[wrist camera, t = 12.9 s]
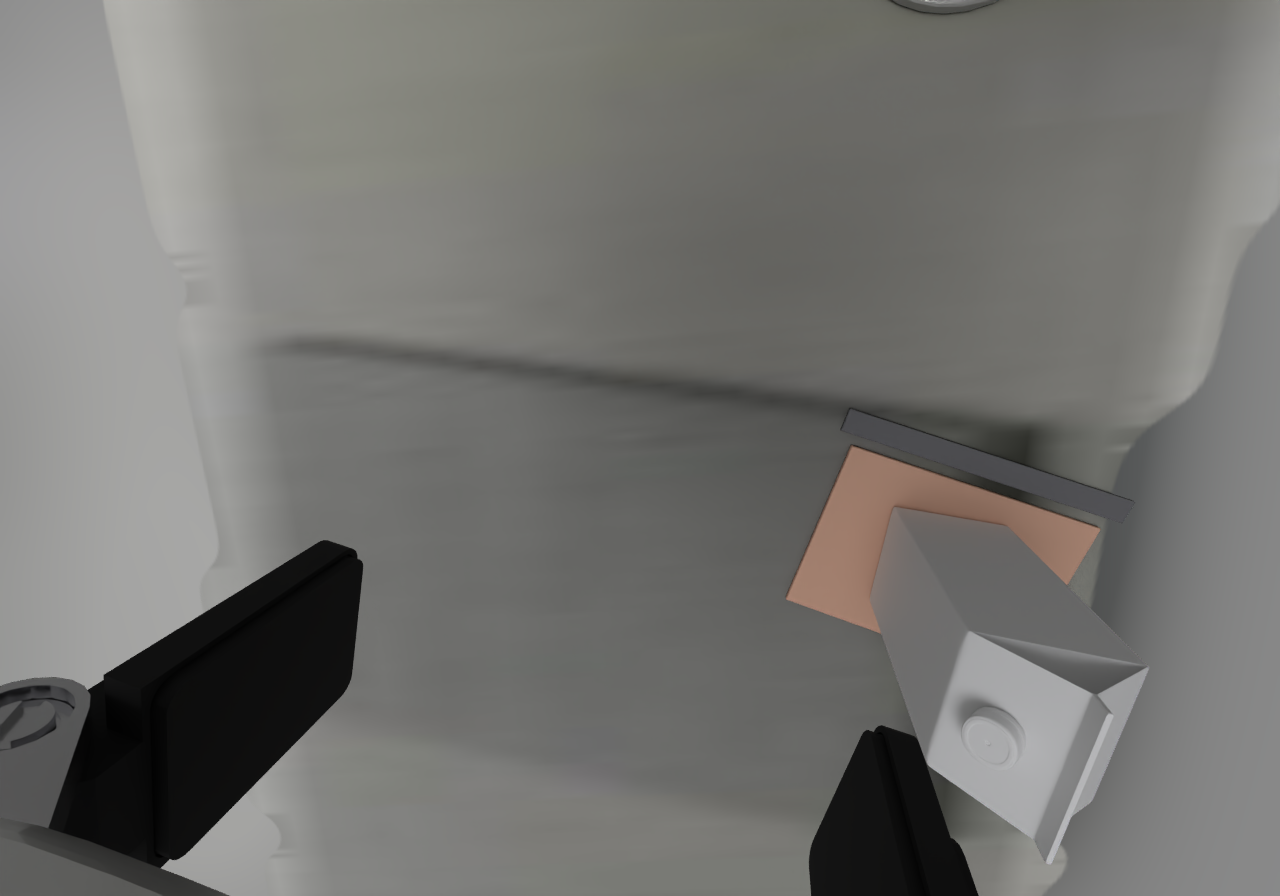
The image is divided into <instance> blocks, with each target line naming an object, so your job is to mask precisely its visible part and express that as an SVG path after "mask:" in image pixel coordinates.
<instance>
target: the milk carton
mask: <svg viewBox="0 0 1280 896" xmlns="http://www.w3.org/2000/svg"><path fill="white" fill-rule="evenodd" d="M870 603H871V606H872V608H873V611H874V614H875V617H876V620H877V623H878V626H879V629H880V631H881V634H882V637H883V640H884V643H885V646H886V649H887V651H888V654H889V657H890V660H891V663H892V666H893V669H894V672H895V674H896V677H897V680H898V683H899V686H900V689H901V692H902V695H903V697H904V700H905V703H906V706H907V709H908V712H909V715H910V718H911V720H912V723H913V726H914V729H915V732H916V735H917V738H918V740H919V743H920V746H921V749H922V751H923V754H924V757H925V759H926V762H927V764H928V765H929V766H930V767H931V768H932V769H934V770H935V771H937V772H938V773H939V774H941V775H942V776H944V777H945V778H947V779H948V780H949V781H951V782H952V783H954V784H955V785H956V786H958V787H959V788H961V789H962V790H964V791H965V792H966V793H968V794H969V795H971V796H972V797H974V798H975V799H976V800H978V801H979V802H981V803H982V804H983V805H985V806H986V807H988V808H989V809H991V810H992V811H993V812H995V813H996V814H998V815H999V816H1000V817H1002V818H1003V819H1005V820H1006V821H1008V822H1009V823H1010V824H1012V825H1013V826H1015V827H1016V828H1018V829H1019V830H1020V831H1022V832H1023V833H1025V834H1026V835H1027V836H1029V837H1030V838H1032V839H1033V840H1035V843H1036V845H1037V847H1038V849H1039V851H1040V853H1041V855H1042V857H1043V859H1044V861H1045V863H1047V864H1052V861H1053V859H1054V857H1055V854H1056V852H1057V850H1058V847H1059V845H1060V842H1061V840H1062V838H1063V835H1064V833H1065V831H1066V828H1067V826H1068V823H1069V821H1070V819H1071V816H1073V815H1074V814H1075V813H1077V812H1078V811H1080V810H1081V809H1082V808H1084V807H1085V806H1086V805H1088V804H1089V803H1090V802H1091V801H1092V800H1093V798H1094V795H1095V793H1096V791H1097V788H1098V786H1099V784H1100V782H1101V779H1102V777H1103V775H1104V772H1105V770H1106V768H1107V765H1108V763H1109V761H1110V758H1111V756H1112V754H1113V751H1114V749H1115V747H1116V744H1117V742H1118V740H1119V737H1120V735H1121V733H1122V730H1123V728H1124V726H1125V723H1126V721H1127V719H1128V716H1129V714H1130V712H1131V709H1132V707H1133V705H1134V702H1135V700H1136V698H1137V696H1138V693H1139V691H1140V689H1141V686H1142V684H1143V682H1144V679H1145V677H1146V674H1147V672H1148V669H1149V666H1148V665H1147V664H1146V663H1145V662H1143V660H1142V659H1141V658H1140V657H1139V656H1138V655H1137V654H1135V652H1134V651H1133V650H1132V649H1131V648H1130V647H1128V645H1126V643H1125V642H1123V640H1122V639H1121V638H1120V637H1119V636H1118V635H1117V634H1116V633H1114V631H1113V630H1112V629H1110V628H1109V627H1108V626H1107V625H1106V624H1105V623H1104V622H1103V621H1102V620H1101V619H1100V618H1099V617H1098V616H1097V615H1096V614H1095V613H1094V612H1093V611H1092V610H1091V609H1090V608H1089V607H1088V606H1087V605H1086V604H1085V603H1084V602H1083V601H1082V600H1081V599H1080V598H1079V597H1078V596H1077V595H1076V594H1075V593H1074V592H1073V591H1072V590H1071V589H1070V588H1069V587H1068V586H1067V585H1066V584H1065V583H1064V582H1063V581H1062V580H1061V579H1060V578H1059V577H1058V576H1057V575H1056V574H1055V573H1054V572H1053V571H1052V570H1051V569H1050V568H1049V567H1048V566H1047V565H1046V564H1045V563H1044V562H1043V561H1042V560H1041V559H1040V558H1039V557H1038V556H1037V555H1036V554H1035V553H1034V552H1033V551H1032V550H1031V549H1030V548H1029V547H1028V546H1027V545H1026V544H1025V543H1024V542H1023V541H1022V540H1021V539H1020V538H1019V537H1018V536H1017V535H1016V534H1015V533H1014V532H1013V531H1012V530H1011V529H1010V528H1009V527H1008V526H1004V525H999V524H993V523H987V522H981V521H975V520H970V519H964V518H958V517H952V516H946V515H941V514H935V513H929V512H923V511H917V510H911V509H906V508H900V507H894V508H893V510H892V513H891V517H890V520H889V524H888V528H887V532H886V536H885V540H884V544H883V547H882V551H881V555H880V559H879V563H878V567H877V571H876V574H875V578H874V582H873V586H872V590H871V594H870Z"/></svg>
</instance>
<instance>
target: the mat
mask: <svg viewBox="0 0 1280 896" xmlns="http://www.w3.org/2000/svg"><path fill="white" fill-rule="evenodd" d="M894 507H900V508H906V509H911V510H917V511H923V512H929V513H935V514H941V515H946V516H952V517H958V518H964V519H970V520H975V521H981V522H987V523H993V524H999V525H1004V526H1008V527H1009V528H1010V529H1011V530H1012V531H1013V532H1014V533H1015V534H1016V535H1017V536H1018V537H1019V538H1020V539H1021V540H1022V541H1023V542H1024V543H1025V544H1026V545H1027V546H1028V547H1029V548H1030V549H1031V550H1032V551H1033V552H1034V553H1035V554H1036V555H1037V556H1038V557H1039V558H1040V559H1041V560H1042V561H1043V562H1044V563H1045V564H1046V565H1047V566H1048V567H1049V568H1050V569H1051V570H1052V571H1053V572H1054V573H1055V574H1056V575H1057V576H1058V577H1059V578H1060V579H1061V580H1062V581H1063V582H1064V583H1065V584H1066V585H1067V584H1068V583H1069V581H1070V579H1071V578H1072V576H1073V574H1074V573H1075V571H1076V569H1077V568H1078V566H1079V565H1080V563H1081V561H1082V560H1083V558H1084V556H1085V555H1086V553H1087V551H1088V550H1089V548H1090V546H1091V545H1092V543H1093V541H1094V540H1095V538H1096V536H1097V535H1098V533H1099V531H1100V530H1101V529H1100V528H1099V527H1097V526H1094V525H1091V524H1088V523H1085V522H1082V521H1079V520H1076V519H1073V518H1070V517H1067V516H1064V515H1061V514H1058V513H1055V512H1052V511H1049V510H1046V509H1043V508H1040V507H1037V506H1034V505H1031V504H1028V503H1025V502H1022V501H1019V500H1016V499H1013V498H1010V497H1007V496H1004V495H1001V494H998V493H995V492H992V491H989V490H986V489H983V488H980V487H977V486H974V485H971V484H968V483H965V482H962V481H959V480H956V479H953V478H950V477H947V476H944V475H941V474H938V473H935V472H932V471H929V470H926V469H923V468H920V467H917V466H914V465H911V464H908V463H905V462H902V461H899V460H896V459H893V458H890V457H887V456H884V455H881V454H878V453H875V452H872V451H869V450H866V449H863V448H859V447H856V446H853V445H851V446H850V449H849V451H848V453H847V455H846V458H845V460H844V462H843V465H842V467H841V469H840V472H839V474H838V476H837V479H836V481H835V483H834V486H833V488H832V490H831V493H830V495H829V497H828V500H827V502H826V504H825V507H824V509H823V511H822V514H821V516H820V518H819V521H818V523H817V525H816V528H815V530H814V532H813V535H812V537H811V539H810V541H809V544H808V546H807V548H806V551H805V553H804V555H803V558H802V560H801V562H800V565H799V567H798V569H797V572H796V574H795V576H794V579H793V581H792V583H791V586H790V588H789V590H788V593H787V595H786V599H787V600H789V601H792V602H795V603H798V604H800V605H803V606H806V607H809V608H812V609H814V610H817V611H820V612H823V613H825V614H828V615H831V616H834V617H837V618H839V619H842V620H845V621H848V622H850V623H853V624H856V625H859V626H862V627H864V628H867V629H870V630H873V631H875V632H878V633H881V631H880V629H879V626H878V623H877V620H876V617H875V614H874V611H873V608H872V606H871V603H870V594H871V590H872V586H873V582H874V578H875V574H876V571H877V567H878V563H879V559H880V555H881V551H882V547H883V544H884V540H885V536H886V532H887V528H888V524H889V520H890V517H891V513H892V510H893V508H894Z"/></svg>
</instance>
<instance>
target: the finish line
mask: <svg viewBox="0 0 1280 896" xmlns="http://www.w3.org/2000/svg"><path fill="white" fill-rule="evenodd" d="M841 431H844V432H848V433H851V434H854V435H857V436H860V437H863V438H866V439H869V440H872V441H875V442H878V443H881V444H884V445H887V446H890V447H893V448H896V449H899V450H902V451H905V452H908V453H911V454H914V455H917V456H920V457H923V458H926V459H929V460H932V461H935V462H938V463H941V464H944V465H947V466H950V467H953V468H956V469H959V470H962V471H965V472H968V473H971V474H975V475H978V476H981V477H984V478H987V479H990V480H993V481H996V482H999V483H1002V484H1005V485H1008V486H1011V487H1014V488H1017V489H1020V490H1023V491H1026V492H1029V493H1032V494H1035V495H1038V496H1041V497H1044V498H1047V499H1050V500H1053V501H1056V502H1059V503H1062V504H1065V505H1068V506H1071V507H1074V508H1077V509H1080V510H1083V511H1086V512H1089V513H1092V514H1095V515H1098V516H1101V517H1105V518H1108V519H1111V520H1114V521H1117V522H1120V523H1123V522H1124V520H1125V518H1126V517H1127V515H1128V513H1129V512H1130V510H1131V509H1132V507H1133V505H1134V504H1135V502H1134V501H1132V500H1129V499H1126V498H1123V497H1120V496H1117V495H1114V494H1111V493H1108V492H1105V491H1102V490H1099V489H1096V488H1093V487H1090V486H1087V485H1083V484H1080V483H1077V482H1074V481H1071V480H1068V479H1065V478H1062V477H1059V476H1056V475H1053V474H1050V473H1047V472H1044V471H1041V470H1038V469H1035V468H1031V467H1028V466H1025V465H1022V464H1019V463H1016V462H1013V461H1010V460H1007V459H1004V458H1001V457H998V456H995V455H992V454H989V453H986V452H983V451H979V450H976V449H973V448H970V447H967V446H964V445H961V444H958V443H955V442H952V441H949V440H946V439H943V438H940V437H937V436H934V435H930V434H927V433H924V432H921V431H918V430H915V429H912V428H909V427H906V426H903V425H900V424H897V423H894V422H891V421H888V420H885V419H882V418H878V417H875V416H872V415H869V414H866V413H863V412H860V411H857V410H854V409H851V408H850V409H849V411H848V413H847V416H846V418H845V420H844V423H843V425H842V428H841Z"/></svg>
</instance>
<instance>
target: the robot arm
mask: <svg viewBox="0 0 1280 896" xmlns="http://www.w3.org/2000/svg"><path fill="white" fill-rule="evenodd" d="M893 1H894V2H896V3H898V4H899V5H902V6H905V7H908V8H911V9H915V10H918V11H921V12H931V13H942V14H946V13H955V12H963V11H970V10H973V9H976V8H979V7H982V6H986V5H989V4H992V3H994V2H996V1H998V0H893ZM362 574H363V563H362V561H361V560H359V559H357V553H356V551H355V550H354V549H352V548H349V547H346V546H343V545H340V544H337V543H334V542H331V541H328V540H323V541H320V542H318V543H317V544H315V545H313V546H312V547H310V548H309V549H307V550H305V551H304V552H302V553H300V554H299V555H297V556H296V557H294V558H292V559H291V560H289V561H287V562H286V563H284V564H283V565H281V566H279V567H278V568H276V569H275V570H273V571H271V572H270V573H268V574H266V575H265V576H263V577H262V578H260V579H258V580H257V581H255V582H253V583H252V584H250V585H249V586H247V587H245V588H244V589H242V590H241V591H239V592H237V593H236V594H234V595H232V596H231V597H229V598H228V599H226V600H224V601H223V602H221V603H219V604H218V605H216V606H215V607H213V608H211V609H210V610H208V611H206V612H205V613H203V614H202V615H200V616H198V617H197V618H195V619H194V620H192V621H190V622H189V623H187V624H186V625H184V626H182V627H181V628H179V629H177V630H176V631H174V632H173V633H171V634H169V635H168V636H166V637H164V638H163V639H161V640H160V641H158V642H156V643H155V644H153V645H151V646H150V647H149V648H147V649H145V650H143V651H142V652H140V653H138V654H137V655H135V656H134V657H132V658H130V659H129V660H127V661H126V662H124V663H122V664H121V665H119V666H117V667H116V668H114V669H113V670H111V671H109V672H108V673H106V674H105V675H104V680H103V681H101V682H100V683H98V684H97V685H95V686H93V687H92V688H90V689H89V690H87V689H86V688H85V686H83V685H81V684H79V683H77V682H75V681H73V680H70V679H63V678H57V677H49V678H32V679H26V680H21V681H17V682H11V683H8V684H5V685H2V686H0V896H229V895H226V894H224V893H222V892H219V891H217V890H214V889H211V888H209V887H207V886H204V885H201V884H199V883H197V882H194V881H192V880H189V879H187V878H184V877H182V876H179V875H177V874H174V873H171V872H169V871H166V870H163V869H161V867H162V866H163V865H164V864H165V863H166V862H167V861H168V860H169V859H172V860H177V859H179V858H181V857H182V856H184V855H185V854H186V853H187V852H188V851H190V850H191V849H192V848H193V846H194V845H196V844H197V843H198V841H199V840H200V839H201V838H202V837H203V836H204V835H205V834H206V833H207V832H208V831H209V830H210V829H211V828H212V827H213V826H214V825H215V824H216V823H217V822H218V821H219V820H220V819H221V818H222V817H223V816H224V815H225V814H226V813H227V812H228V811H229V810H230V809H231V808H232V807H233V806H234V805H235V804H236V803H237V802H238V801H239V800H240V799H241V798H242V797H243V796H244V795H245V794H246V793H247V792H248V791H249V790H250V789H251V788H252V787H253V786H254V785H255V784H256V782H257V781H258V780H259V779H260V778H261V777H262V776H263V775H264V774H265V773H266V772H267V771H268V770H269V769H270V768H271V767H272V766H273V765H274V764H275V763H276V762H277V761H278V760H279V759H280V758H281V757H282V756H283V755H284V754H285V753H286V752H287V751H288V750H289V749H290V748H291V747H292V746H293V745H294V744H295V743H296V742H297V741H298V740H299V739H300V738H301V737H302V736H303V735H304V734H305V733H306V732H307V731H308V730H309V729H310V728H311V727H312V726H313V725H314V724H315V722H316V721H317V720H318V719H319V718H320V717H321V716H322V715H323V714H324V713H325V712H326V711H327V710H328V709H329V708H330V707H331V706H332V705H333V704H334V703H335V702H336V701H337V700H338V699H339V698H340V697H341V696H342V695H343V693H344V692H345V690H346V689H347V687H348V685H349V683H350V680H351V677H352V669H353V660H354V650H355V641H356V631H357V621H358V612H359V602H360V593H361V583H362ZM809 872H810V885H811V896H978V893H977V890H976V887H975V884H974V881H973V878H972V876H971V873H970V870H969V867H968V864H967V861H966V858H965V855H964V853H963V851H962V849H961V847H960V845H959V844H958V843H957V842H956V841H955V840H954V839H952V838H950V835H949V832H948V829H947V826H946V823H945V820H944V817H943V814H942V811H941V808H940V805H939V802H938V799H937V796H936V793H935V790H934V786H933V783H932V780H931V777H930V774H929V771H928V768H927V765H926V762H925V759H924V756H923V753H922V750H921V747H920V744H919V742H918V740H917V738H916V737H914V736H912V735H909V734H906V733H903V732H900V731H897V730H894V729H891V728H888V727H885V726H882V725H881V726H878V727H877V728H876V729H875V731H874V732H872V731H869V730H866V731H865V732H863V734H862V736H861V738H860V740H859V742H858V744H857V747H856V749H855V751H854V753H853V755H852V757H851V760H850V762H849V764H848V766H847V768H846V770H845V773H844V775H843V777H842V779H841V781H840V783H839V786H838V788H837V790H836V792H835V794H834V796H833V799H832V801H831V803H830V805H829V807H828V809H827V812H826V814H825V816H824V818H823V820H822V822H821V825H820V827H819V829H818V831H817V833H816V835H815V838H814V840H813V842H812V845H811V850H810V856H809Z"/></svg>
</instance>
